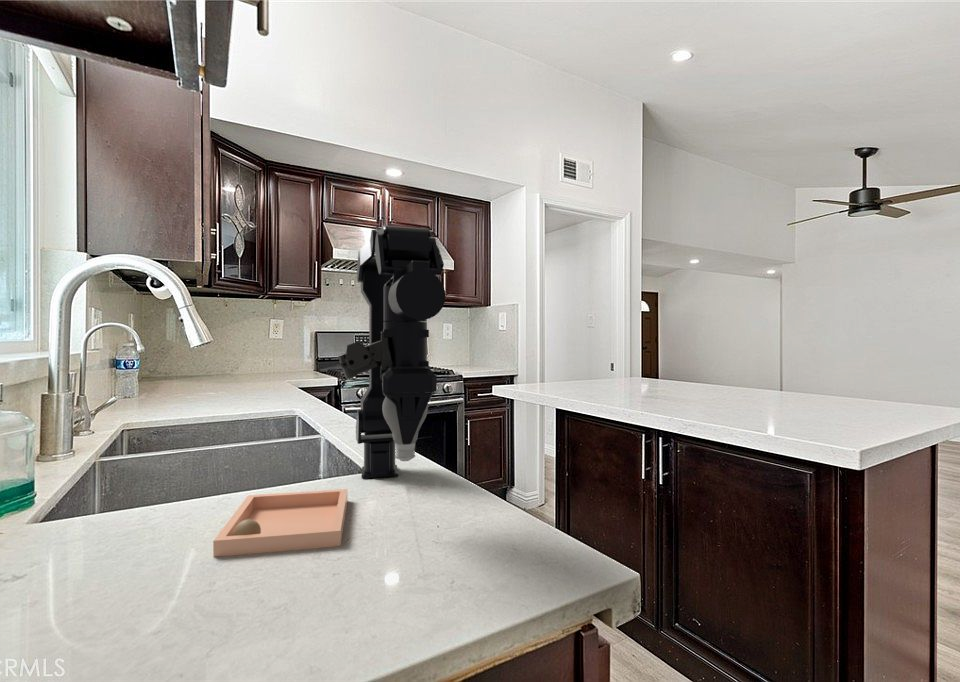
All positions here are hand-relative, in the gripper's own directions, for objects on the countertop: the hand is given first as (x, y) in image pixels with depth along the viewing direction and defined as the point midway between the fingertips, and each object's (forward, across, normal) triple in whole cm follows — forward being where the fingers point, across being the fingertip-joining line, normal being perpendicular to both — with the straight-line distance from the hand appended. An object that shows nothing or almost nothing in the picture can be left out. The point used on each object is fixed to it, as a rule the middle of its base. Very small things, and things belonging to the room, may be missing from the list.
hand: (405, 439), depth 65 cm
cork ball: (+11, +2, -19) cm, 22 cm away
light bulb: (+3, 0, 0) cm, 3 cm away
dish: (+12, -3, -15) cm, 19 cm away
